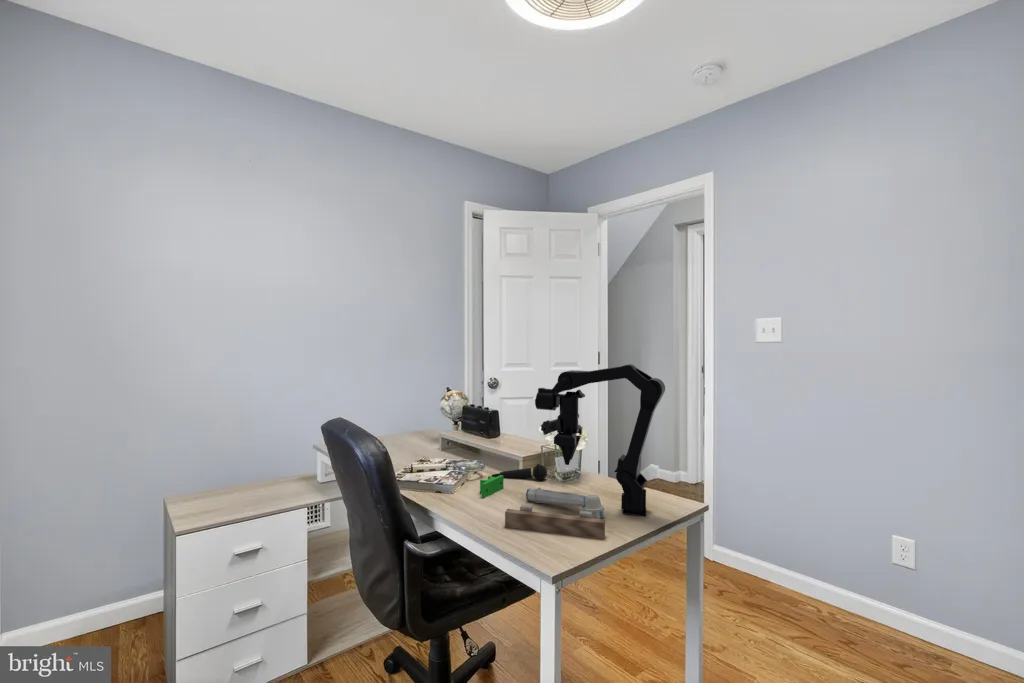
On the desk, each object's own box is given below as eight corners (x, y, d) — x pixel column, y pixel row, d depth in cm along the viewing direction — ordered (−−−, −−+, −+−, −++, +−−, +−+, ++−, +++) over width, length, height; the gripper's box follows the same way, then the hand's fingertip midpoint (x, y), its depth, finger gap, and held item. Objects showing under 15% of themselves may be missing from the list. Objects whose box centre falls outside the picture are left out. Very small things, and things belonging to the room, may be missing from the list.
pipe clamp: (494, 487, 162) (494, 473, 162) (503, 489, 160) (503, 475, 160) (474, 496, 153) (474, 482, 153) (484, 498, 151) (484, 484, 151)
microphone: (491, 486, 172) (547, 483, 168) (489, 473, 170) (545, 469, 167) (494, 477, 177) (548, 474, 173) (491, 464, 175) (546, 460, 172)
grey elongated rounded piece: (533, 485, 152) (605, 490, 137) (535, 507, 151) (608, 514, 136) (523, 489, 148) (597, 495, 133) (526, 512, 147) (600, 520, 132)
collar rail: (605, 532, 125) (605, 513, 125) (604, 538, 122) (604, 519, 121) (509, 521, 132) (509, 503, 132) (504, 526, 128) (505, 508, 128)
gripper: (548, 406, 160) (548, 453, 160) (536, 415, 142) (536, 468, 142) (582, 407, 157) (582, 455, 157) (574, 417, 139) (574, 471, 139)
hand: (568, 462), depth 149 cm, fingers open, 6 cm apart
